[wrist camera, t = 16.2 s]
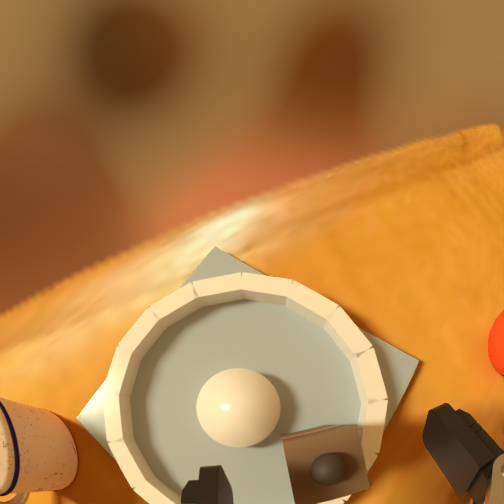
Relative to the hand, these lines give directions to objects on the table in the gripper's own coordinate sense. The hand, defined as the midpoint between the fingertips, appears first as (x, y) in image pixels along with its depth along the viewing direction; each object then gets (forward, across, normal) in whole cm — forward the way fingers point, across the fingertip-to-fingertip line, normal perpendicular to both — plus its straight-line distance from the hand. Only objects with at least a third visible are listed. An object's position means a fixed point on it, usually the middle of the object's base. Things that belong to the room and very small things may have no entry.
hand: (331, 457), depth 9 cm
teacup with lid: (+8, +25, +10) cm, 28 cm away
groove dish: (+12, +4, +7) cm, 14 cm away
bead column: (+8, 0, +9) cm, 12 cm away
